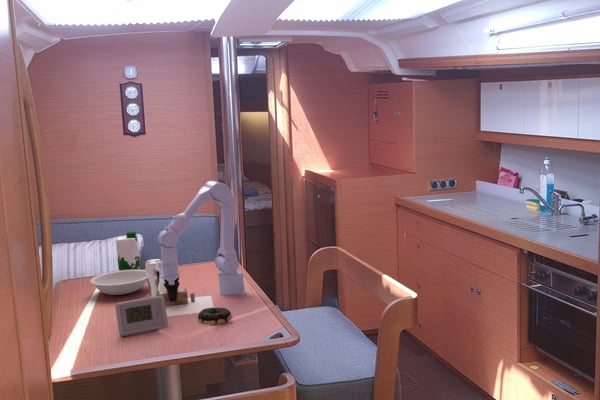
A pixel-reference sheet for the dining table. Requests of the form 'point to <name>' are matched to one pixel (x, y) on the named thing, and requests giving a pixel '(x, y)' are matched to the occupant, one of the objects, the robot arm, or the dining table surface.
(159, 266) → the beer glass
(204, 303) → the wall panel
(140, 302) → the digital clock
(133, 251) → the milk carton
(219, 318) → the donut
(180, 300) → the brown rectangular box
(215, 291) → the dining table surface
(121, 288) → the soup bowl
